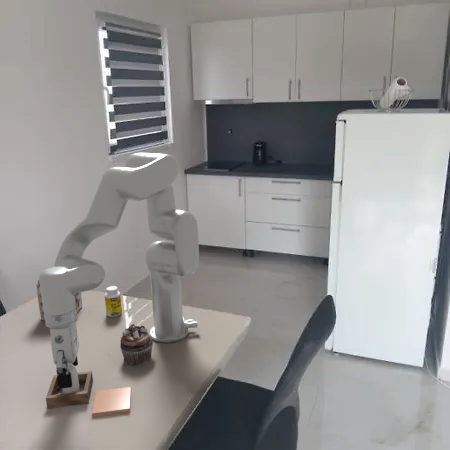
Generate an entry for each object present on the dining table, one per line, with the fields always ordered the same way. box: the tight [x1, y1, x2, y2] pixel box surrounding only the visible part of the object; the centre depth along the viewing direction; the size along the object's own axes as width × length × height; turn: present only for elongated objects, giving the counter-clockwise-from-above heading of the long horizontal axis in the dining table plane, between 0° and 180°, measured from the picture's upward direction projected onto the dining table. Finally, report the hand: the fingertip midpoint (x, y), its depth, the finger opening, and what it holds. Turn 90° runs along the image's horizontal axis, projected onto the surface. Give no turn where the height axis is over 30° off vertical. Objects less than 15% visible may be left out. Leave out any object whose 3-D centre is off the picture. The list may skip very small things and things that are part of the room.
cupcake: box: [119, 323, 154, 366], centre depth 132 cm, size 10×10×10 cm
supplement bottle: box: [104, 285, 123, 318], centre depth 161 cm, size 6×6×10 cm
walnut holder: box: [45, 370, 94, 410], centre depth 117 cm, size 10×10×3 cm
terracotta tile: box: [91, 386, 132, 418], centre depth 113 cm, size 9×9×1 cm
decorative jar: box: [36, 279, 83, 321], centre depth 162 cm, size 12×12×18 cm
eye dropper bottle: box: [61, 359, 81, 394], centre depth 115 cm, size 4×6×12 cm
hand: (68, 376), depth 116 cm, fingers open, 9 cm apart
